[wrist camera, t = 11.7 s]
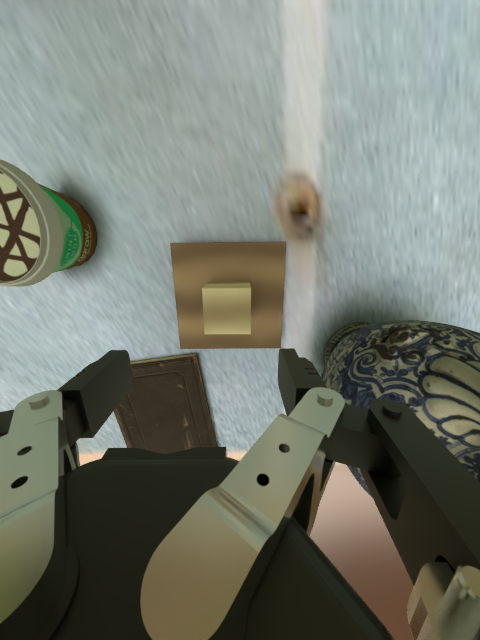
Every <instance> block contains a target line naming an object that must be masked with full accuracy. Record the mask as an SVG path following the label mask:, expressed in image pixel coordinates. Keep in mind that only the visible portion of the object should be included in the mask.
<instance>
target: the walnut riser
mask: <svg viewBox="0 0 480 640" xmlns="http://www.w3.org/2000/svg"><path fill="white" fill-rule="evenodd" d="M170 246H171V256H172V267H173V277H174V287H175V298H176V308H177V318H178V328H179V339H180V349H215V348H281V335H282V315H283V295H284V275H285V255H286V242H213V243H170ZM209 280H249V282H250V286H251V334H204V315H203V297H202V288H203V287H204V286H205V285H206V284H207V283H208V281H209Z"/></svg>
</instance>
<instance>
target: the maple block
mask: <svg viewBox="0 0 480 640" xmlns="http://www.w3.org/2000/svg"><path fill="white" fill-rule="evenodd" d="M202 297H203V315H204V334H251V286H250V282H249V280H209V281H208V283H207V284H206V285H205V286H204V287H203V288H202Z"/></svg>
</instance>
